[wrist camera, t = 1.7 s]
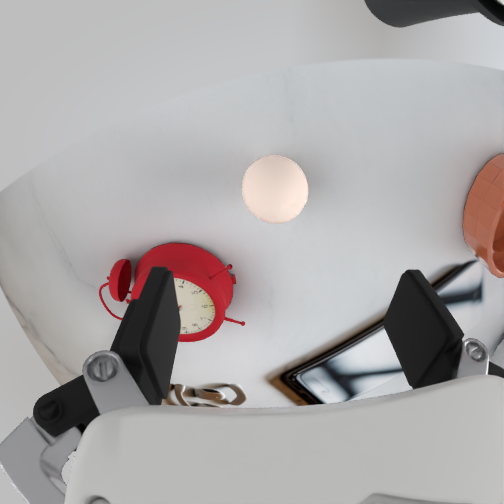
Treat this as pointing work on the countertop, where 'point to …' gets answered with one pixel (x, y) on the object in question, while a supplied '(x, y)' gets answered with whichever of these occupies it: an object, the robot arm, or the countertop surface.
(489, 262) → the bowl
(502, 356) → the decorative bowl
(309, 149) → the countertop surface
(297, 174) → the egg
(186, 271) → the alarm clock
